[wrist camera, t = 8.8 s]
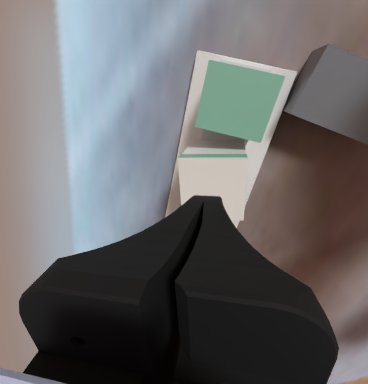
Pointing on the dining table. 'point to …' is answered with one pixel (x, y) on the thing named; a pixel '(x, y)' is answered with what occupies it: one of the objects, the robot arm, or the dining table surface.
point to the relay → (333, 92)
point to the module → (215, 173)
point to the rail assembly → (232, 110)
